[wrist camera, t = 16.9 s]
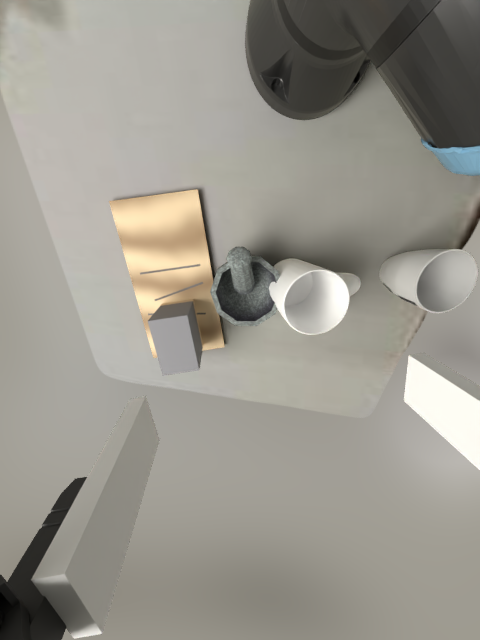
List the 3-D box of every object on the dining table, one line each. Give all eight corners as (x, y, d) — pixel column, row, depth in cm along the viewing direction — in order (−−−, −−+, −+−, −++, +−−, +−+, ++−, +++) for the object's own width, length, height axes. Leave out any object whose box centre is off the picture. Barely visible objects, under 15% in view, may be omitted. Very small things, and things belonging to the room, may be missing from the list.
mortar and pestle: (278, 303, 41) (300, 330, 30) (224, 319, 41) (225, 351, 30) (261, 234, 37) (279, 234, 26) (202, 252, 37) (193, 260, 26)
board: (112, 202, 34) (109, 201, 33) (198, 190, 35) (197, 189, 34) (155, 355, 42) (153, 358, 41) (224, 344, 43) (224, 347, 42)
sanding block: (161, 303, 38) (147, 321, 31) (193, 299, 39) (187, 315, 31) (173, 349, 41) (162, 375, 34) (203, 344, 41) (199, 370, 34)
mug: (339, 297, 41) (383, 322, 30) (269, 313, 41) (288, 343, 30) (335, 247, 39) (383, 253, 27) (261, 264, 39) (277, 277, 27)
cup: (364, 292, 41) (406, 310, 32) (378, 242, 39) (428, 245, 29) (408, 297, 42) (462, 315, 33) (425, 248, 40) (489, 252, 30)
